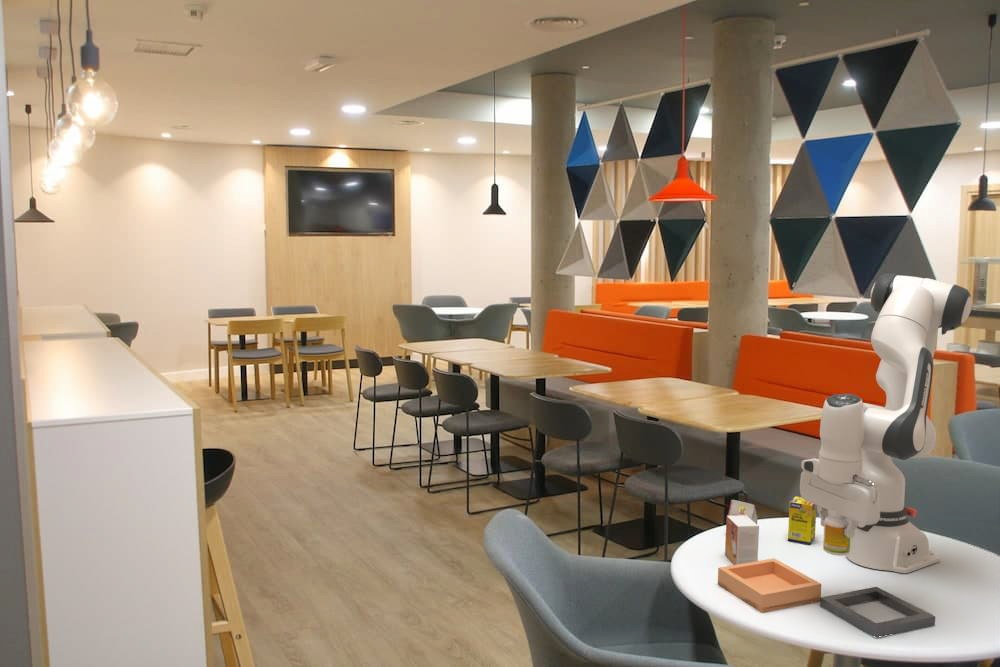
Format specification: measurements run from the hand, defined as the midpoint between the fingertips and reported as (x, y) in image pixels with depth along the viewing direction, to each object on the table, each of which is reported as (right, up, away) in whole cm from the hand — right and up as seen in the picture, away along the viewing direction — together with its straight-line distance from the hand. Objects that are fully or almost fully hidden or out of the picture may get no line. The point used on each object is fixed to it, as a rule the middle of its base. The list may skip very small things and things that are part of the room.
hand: (837, 531), depth 184 cm
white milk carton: (-8, -12, +44) cm, 46 cm away
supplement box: (+7, -12, +42) cm, 45 cm away
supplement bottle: (0, -5, +1) cm, 5 cm away
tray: (-12, -16, +9) cm, 22 cm away
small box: (-13, -14, +28) cm, 34 cm away
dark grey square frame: (+7, -18, -2) cm, 19 cm away
